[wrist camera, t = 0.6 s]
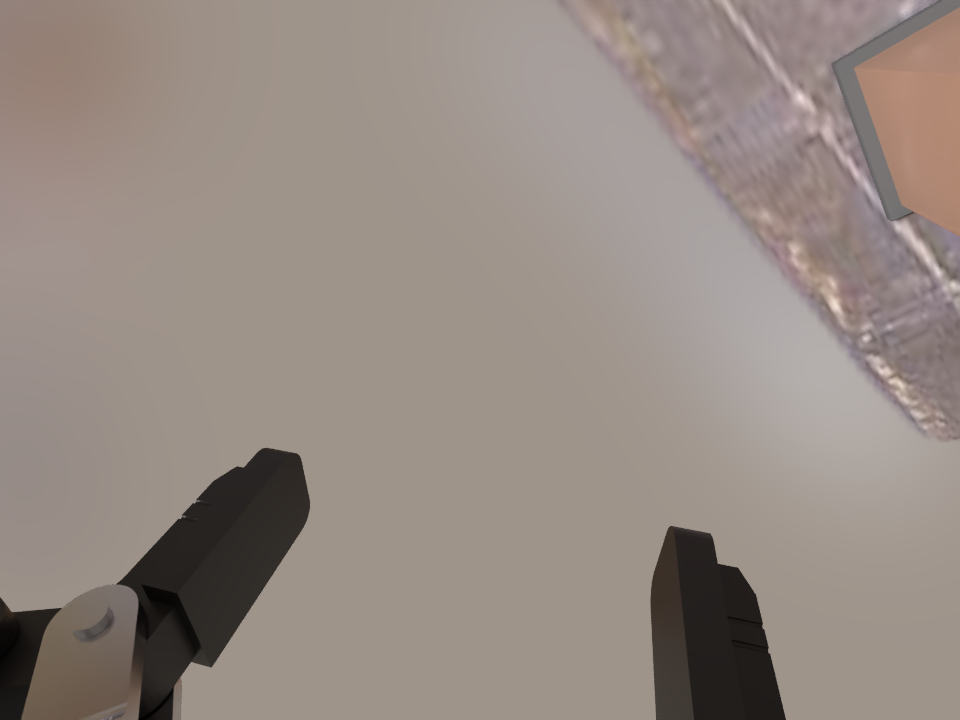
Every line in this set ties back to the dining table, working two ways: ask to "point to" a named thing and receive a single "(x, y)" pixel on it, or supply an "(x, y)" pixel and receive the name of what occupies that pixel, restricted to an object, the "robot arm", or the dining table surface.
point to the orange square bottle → (920, 117)
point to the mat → (858, 105)
